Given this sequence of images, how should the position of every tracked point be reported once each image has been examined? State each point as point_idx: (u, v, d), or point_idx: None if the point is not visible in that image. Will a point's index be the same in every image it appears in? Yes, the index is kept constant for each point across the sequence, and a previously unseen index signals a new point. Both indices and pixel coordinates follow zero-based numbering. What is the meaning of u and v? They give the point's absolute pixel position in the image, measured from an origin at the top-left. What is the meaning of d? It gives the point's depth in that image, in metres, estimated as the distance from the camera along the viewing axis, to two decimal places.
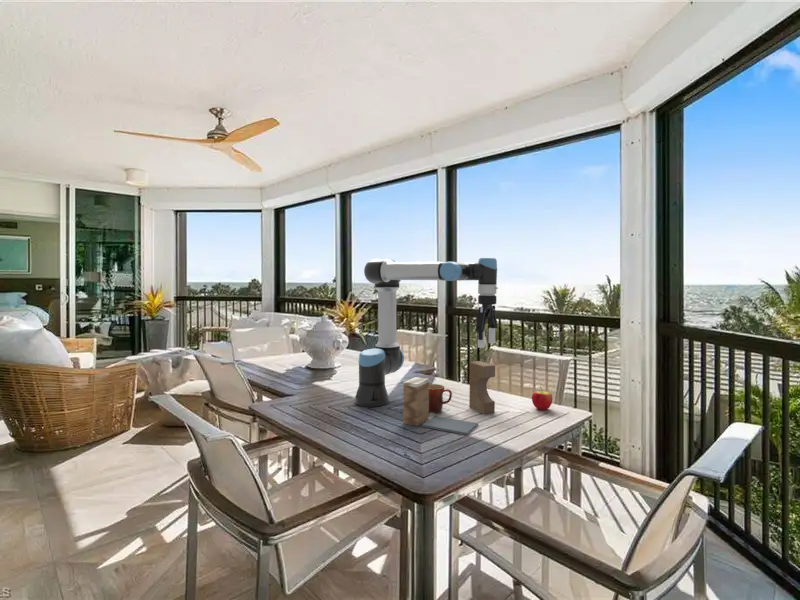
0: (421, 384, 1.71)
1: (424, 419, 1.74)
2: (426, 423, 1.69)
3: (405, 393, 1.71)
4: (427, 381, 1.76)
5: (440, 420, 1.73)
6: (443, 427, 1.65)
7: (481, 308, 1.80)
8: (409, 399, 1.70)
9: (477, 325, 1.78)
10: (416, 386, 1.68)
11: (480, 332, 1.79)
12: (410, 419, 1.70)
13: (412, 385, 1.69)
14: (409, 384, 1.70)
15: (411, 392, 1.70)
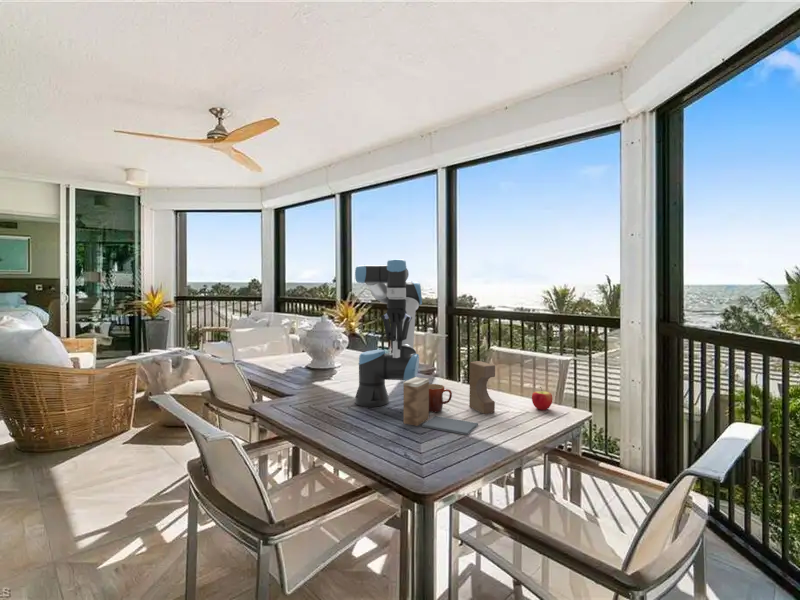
0: (421, 384, 1.71)
1: (424, 419, 1.74)
2: (426, 423, 1.69)
3: (405, 393, 1.71)
4: (427, 381, 1.76)
5: (440, 420, 1.73)
6: (443, 427, 1.65)
7: None
8: (409, 399, 1.70)
9: None
10: (416, 386, 1.68)
11: None
12: (410, 419, 1.70)
13: (412, 385, 1.69)
14: (409, 384, 1.70)
15: (411, 392, 1.70)
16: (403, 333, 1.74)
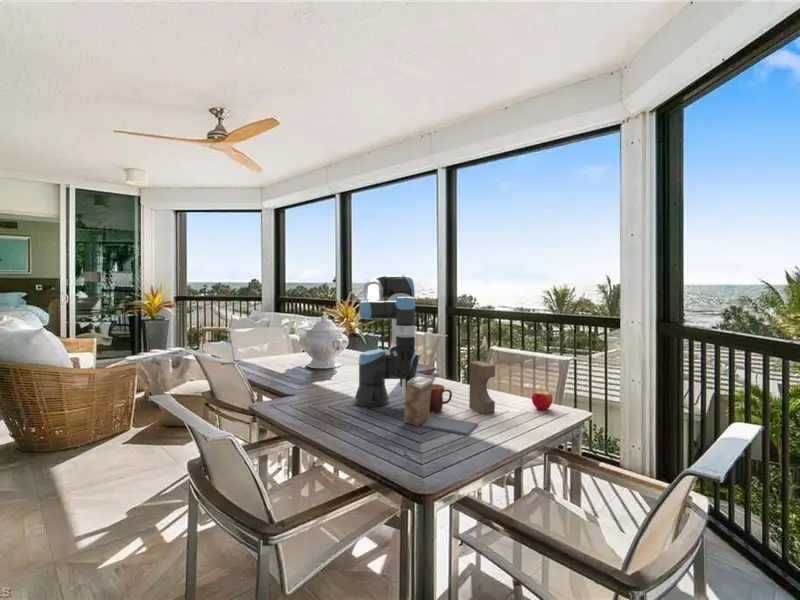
0: (424, 385, 1.70)
1: (424, 419, 1.74)
2: (426, 423, 1.69)
3: (408, 392, 1.70)
4: (430, 382, 1.75)
5: (440, 420, 1.73)
6: (443, 427, 1.65)
7: None
8: (411, 399, 1.70)
9: None
10: (420, 387, 1.68)
11: None
12: (410, 418, 1.70)
13: (416, 386, 1.68)
14: (413, 384, 1.69)
15: (414, 391, 1.69)
16: (412, 371, 1.73)
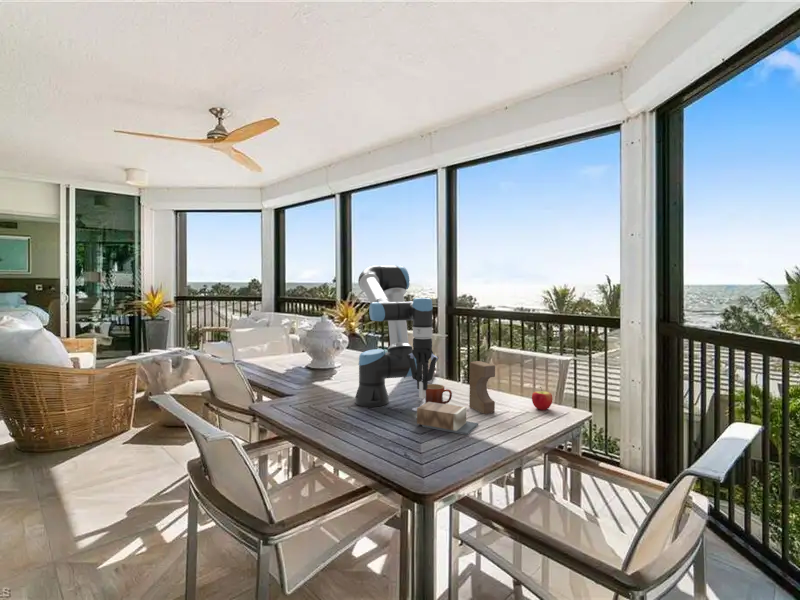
0: None
1: None
2: None
3: (445, 415, 1.63)
4: None
5: None
6: None
7: None
8: (440, 419, 1.64)
9: None
10: (454, 429, 1.62)
11: None
12: (421, 416, 1.68)
13: (454, 424, 1.61)
14: (455, 421, 1.61)
15: (447, 422, 1.63)
16: (429, 374, 1.69)
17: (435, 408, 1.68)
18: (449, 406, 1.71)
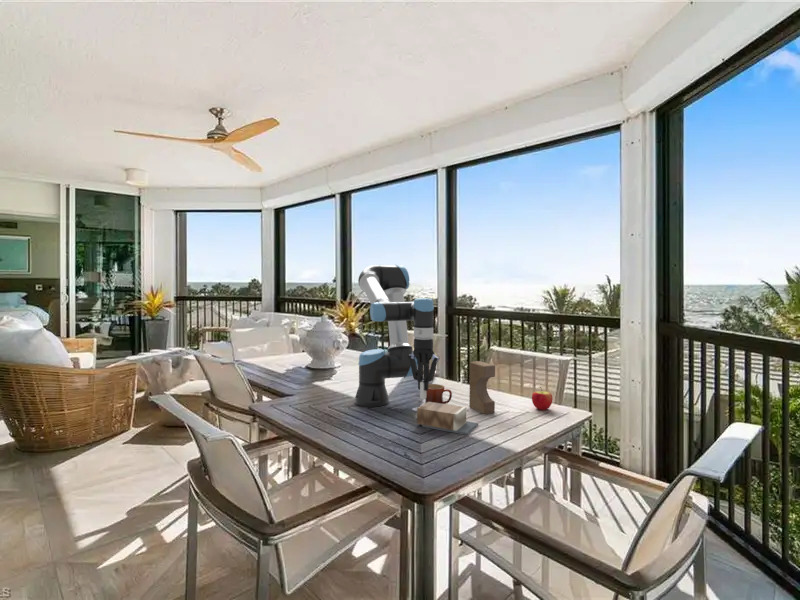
0: None
1: None
2: None
3: (445, 415, 1.63)
4: None
5: None
6: None
7: None
8: (440, 419, 1.64)
9: None
10: (454, 429, 1.62)
11: None
12: (421, 416, 1.68)
13: (454, 424, 1.61)
14: (455, 421, 1.61)
15: (447, 422, 1.63)
16: (430, 374, 1.69)
17: (435, 408, 1.68)
18: (449, 406, 1.71)
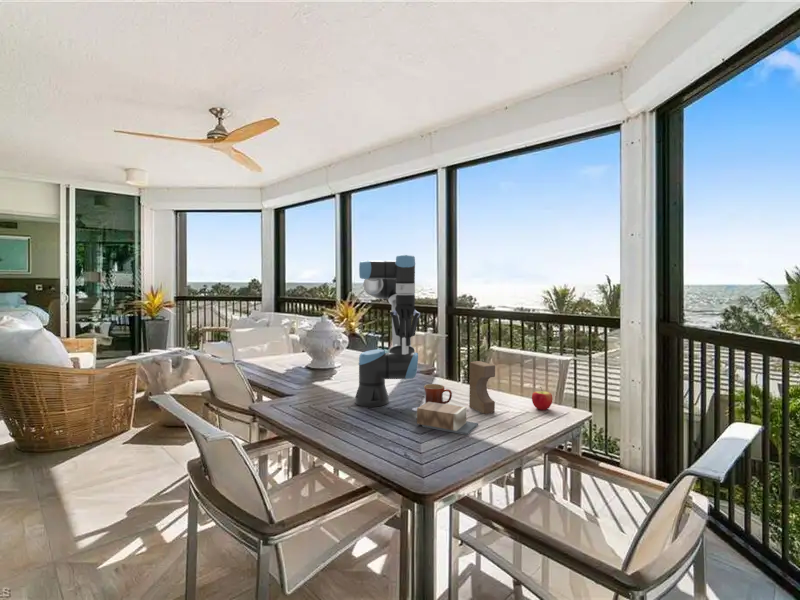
0: None
1: None
2: None
3: (445, 415, 1.63)
4: None
5: None
6: None
7: None
8: (440, 419, 1.64)
9: None
10: (454, 429, 1.62)
11: None
12: (421, 416, 1.68)
13: (454, 424, 1.61)
14: (455, 421, 1.61)
15: (447, 422, 1.63)
16: (412, 329, 1.72)
17: (435, 408, 1.68)
18: (449, 406, 1.71)
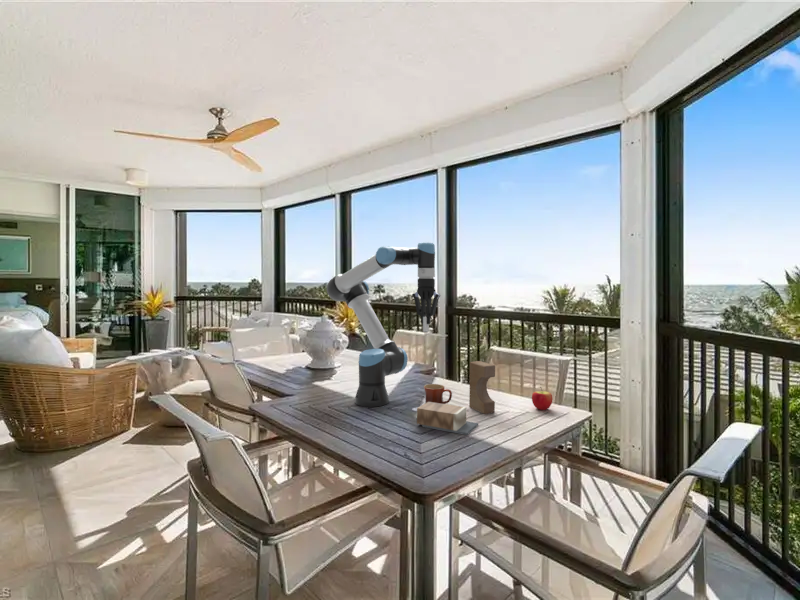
0: None
1: None
2: None
3: (445, 415, 1.63)
4: None
5: None
6: None
7: None
8: (440, 419, 1.64)
9: None
10: (454, 429, 1.62)
11: None
12: (421, 416, 1.68)
13: (454, 424, 1.61)
14: (455, 421, 1.61)
15: (447, 422, 1.63)
16: (432, 309, 1.93)
17: (435, 408, 1.68)
18: (449, 406, 1.71)
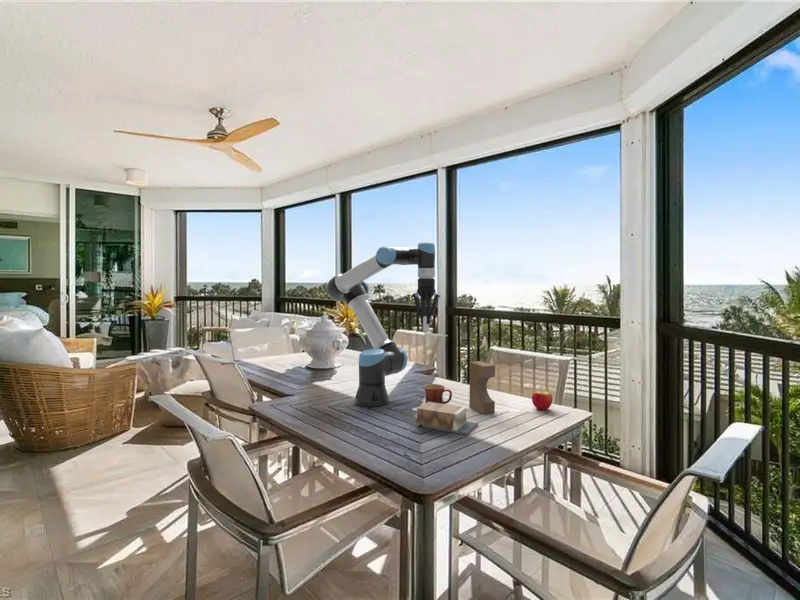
0: None
1: None
2: None
3: (445, 415, 1.63)
4: None
5: None
6: None
7: None
8: (440, 419, 1.64)
9: None
10: (454, 429, 1.62)
11: None
12: (421, 416, 1.68)
13: (454, 424, 1.61)
14: (455, 421, 1.61)
15: (447, 422, 1.63)
16: (432, 309, 1.93)
17: (435, 408, 1.68)
18: (449, 406, 1.71)
